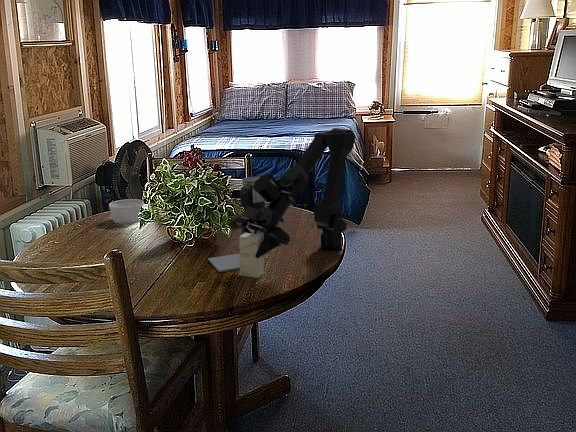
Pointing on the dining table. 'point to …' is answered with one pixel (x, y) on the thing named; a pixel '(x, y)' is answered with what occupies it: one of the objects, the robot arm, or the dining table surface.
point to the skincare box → (250, 255)
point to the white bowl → (126, 210)
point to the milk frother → (250, 195)
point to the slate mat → (226, 262)
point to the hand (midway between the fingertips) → (247, 254)
